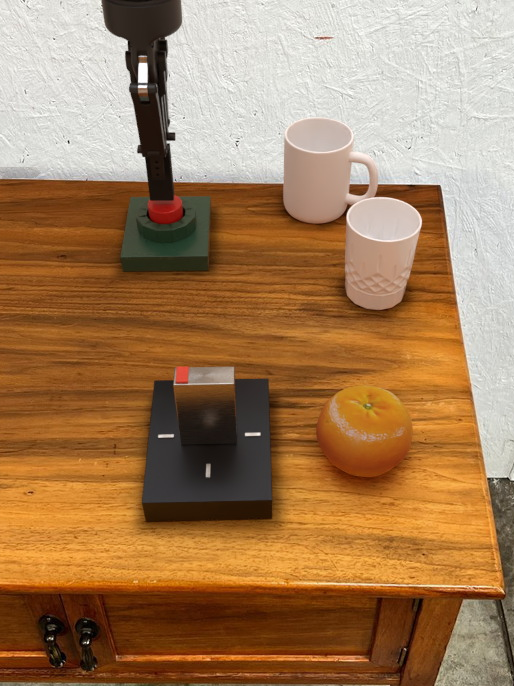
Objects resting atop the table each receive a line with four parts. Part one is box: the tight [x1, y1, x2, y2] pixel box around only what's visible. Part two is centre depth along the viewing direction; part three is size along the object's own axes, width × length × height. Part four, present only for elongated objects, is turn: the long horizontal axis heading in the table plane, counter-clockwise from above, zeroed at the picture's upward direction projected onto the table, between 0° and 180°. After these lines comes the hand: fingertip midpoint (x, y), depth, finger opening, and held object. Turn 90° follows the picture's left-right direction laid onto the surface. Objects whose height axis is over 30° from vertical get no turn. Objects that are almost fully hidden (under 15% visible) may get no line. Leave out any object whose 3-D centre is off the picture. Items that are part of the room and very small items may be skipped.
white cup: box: [344, 196, 423, 311], centre depth 85 cm, size 8×8×10 cm
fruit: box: [315, 384, 414, 478], centre depth 70 cm, size 8×8×8 cm
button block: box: [119, 195, 212, 273], centre depth 93 cm, size 12×10×4 cm
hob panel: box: [141, 378, 274, 523], centre depth 71 cm, size 14×11×3 cm
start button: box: [148, 194, 183, 224], centre depth 91 cm, size 4×4×2 cm
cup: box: [282, 116, 379, 225], centre depth 96 cm, size 8×12×10 cm
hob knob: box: [173, 366, 237, 445], centre depth 67 cm, size 5×2×8 cm, turn 92°
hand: (162, 196), depth 90 cm, fingers closed
